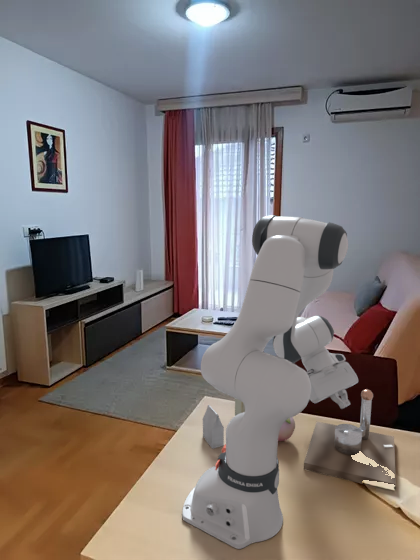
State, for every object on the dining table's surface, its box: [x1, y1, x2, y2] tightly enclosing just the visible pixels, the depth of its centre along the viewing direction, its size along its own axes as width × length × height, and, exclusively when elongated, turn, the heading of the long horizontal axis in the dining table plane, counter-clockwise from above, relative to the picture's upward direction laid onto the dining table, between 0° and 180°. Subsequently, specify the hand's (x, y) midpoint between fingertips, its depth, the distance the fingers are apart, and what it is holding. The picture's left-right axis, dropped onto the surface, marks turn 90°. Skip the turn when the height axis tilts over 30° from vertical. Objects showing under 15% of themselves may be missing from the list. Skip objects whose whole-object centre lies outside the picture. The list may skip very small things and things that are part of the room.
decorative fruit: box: [278, 417, 296, 442], centre depth 120 cm, size 9×8×10 cm
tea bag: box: [202, 404, 225, 450], centre depth 119 cm, size 4×7×10 cm, turn 24°
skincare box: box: [234, 398, 245, 417], centre depth 132 cm, size 6×4×12 cm
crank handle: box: [334, 388, 374, 455], centre depth 113 cm, size 13×7×15 cm, turn 127°
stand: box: [303, 421, 397, 486], centre depth 113 cm, size 22×22×2 cm
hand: (346, 406), depth 122 cm, fingers closed
